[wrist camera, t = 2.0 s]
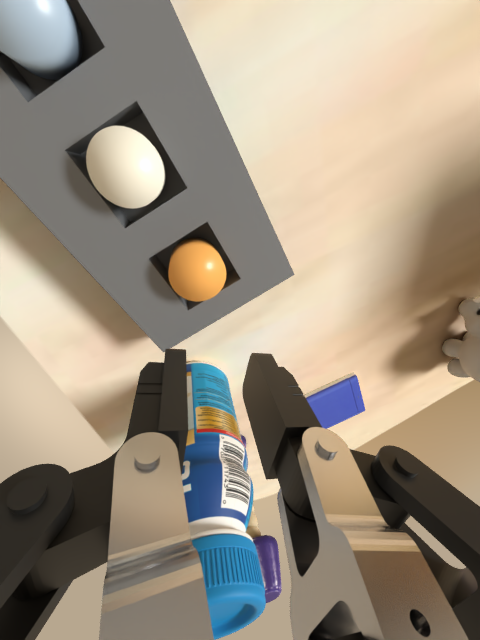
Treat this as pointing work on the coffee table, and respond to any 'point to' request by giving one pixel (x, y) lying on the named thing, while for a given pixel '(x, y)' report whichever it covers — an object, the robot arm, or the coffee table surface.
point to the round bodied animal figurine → (466, 343)
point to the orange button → (196, 270)
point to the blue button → (41, 36)
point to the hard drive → (336, 401)
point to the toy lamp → (266, 556)
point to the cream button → (125, 167)
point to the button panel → (171, 143)
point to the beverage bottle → (220, 502)
